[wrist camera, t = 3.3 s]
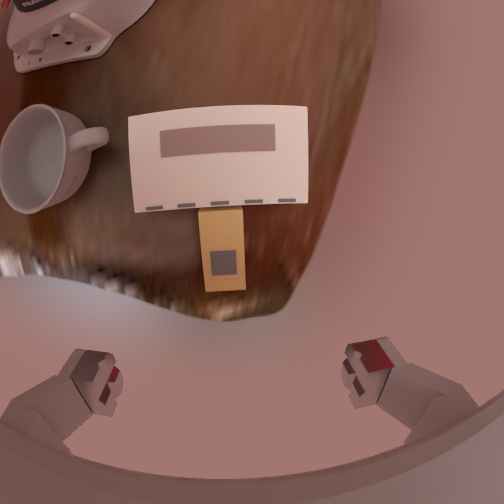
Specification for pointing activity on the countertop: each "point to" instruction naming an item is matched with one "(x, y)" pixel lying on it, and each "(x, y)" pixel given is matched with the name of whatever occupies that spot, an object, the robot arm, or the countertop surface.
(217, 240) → the stub
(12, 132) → the teacup
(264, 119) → the ticket block
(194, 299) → the countertop surface
